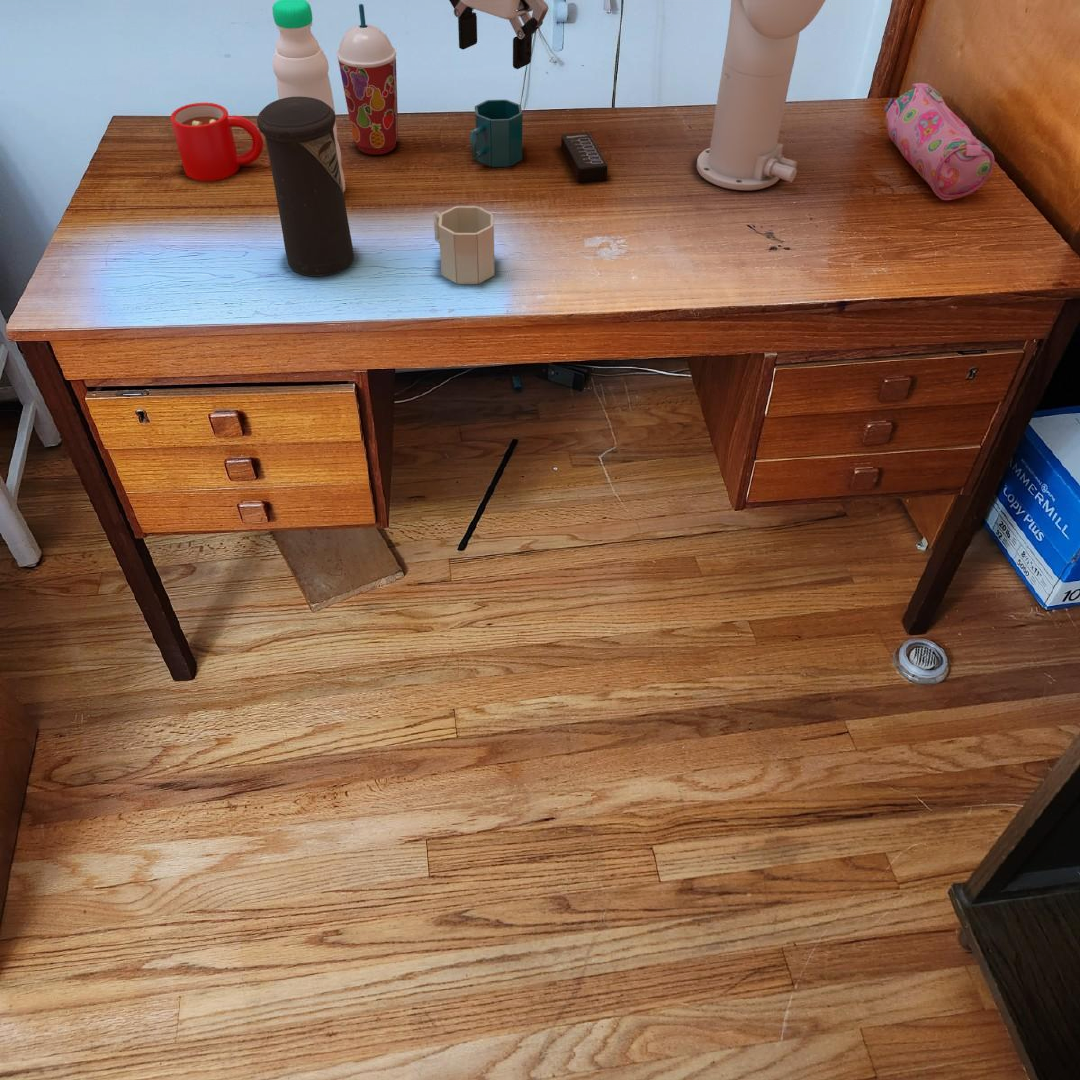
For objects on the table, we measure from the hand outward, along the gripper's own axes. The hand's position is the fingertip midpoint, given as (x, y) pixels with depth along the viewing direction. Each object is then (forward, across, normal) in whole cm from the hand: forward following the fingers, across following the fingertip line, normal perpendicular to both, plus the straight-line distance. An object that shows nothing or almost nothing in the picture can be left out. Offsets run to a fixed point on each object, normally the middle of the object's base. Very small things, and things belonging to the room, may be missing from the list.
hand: (494, 55), depth 133 cm
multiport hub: (+15, -11, -8) cm, 20 cm away
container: (+16, 0, +35) cm, 39 cm away
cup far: (+15, +1, 0) cm, 15 cm away
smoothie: (+16, +17, +8) cm, 24 cm away
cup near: (+15, -15, +24) cm, 32 cm away
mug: (+16, +29, +27) cm, 43 cm away
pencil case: (+15, -51, -40) cm, 67 cm away
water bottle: (+16, +13, +23) cm, 31 cm away
